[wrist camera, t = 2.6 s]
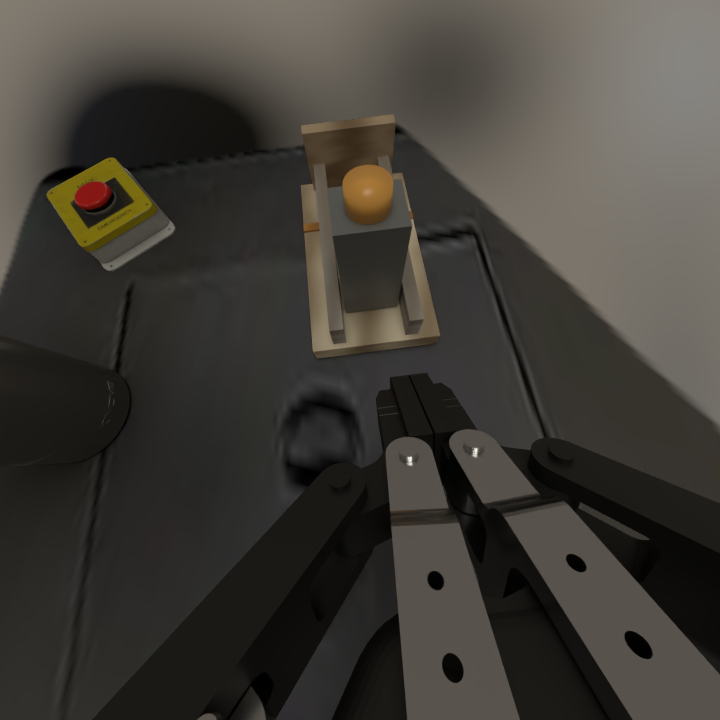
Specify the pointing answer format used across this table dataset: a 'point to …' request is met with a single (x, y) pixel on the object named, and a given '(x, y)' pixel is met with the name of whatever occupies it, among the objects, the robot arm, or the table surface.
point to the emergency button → (110, 214)
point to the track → (327, 309)
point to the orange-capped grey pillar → (370, 237)
